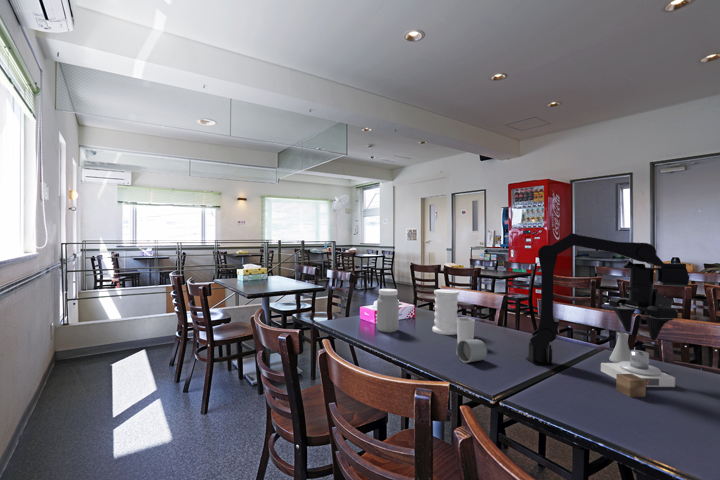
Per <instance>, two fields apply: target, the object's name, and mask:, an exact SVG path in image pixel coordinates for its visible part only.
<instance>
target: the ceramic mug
mask: <svg viewBox="0 0 720 480" xmlns="http://www.w3.org/2000/svg"><path fill="white" fill-rule="evenodd" d="M455 353H456V356H457V357H458V359H459V360H460V361H461V362H462V363H473V362H479V361H483V360H485V359H486V358H487V355H488V348H487V345H486V343H485V342H484V341H482V340H480V339H477V338H476V339H473V340H461V341H459V343H458V342H457V344H456V351H455Z"/></svg>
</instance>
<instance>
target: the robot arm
mask: <svg viewBox="0 0 720 480" xmlns="http://www.w3.org/2000/svg"><path fill="white" fill-rule="evenodd" d="M574 246H575V247H581V248H585V249H592V250H597V251H601V252H606V253H607V252H608V253H613V254H616V255H618V256H622V257H625V258H628V259H631V260H627V261H626V262H625V263H624V264H623V265H622V266H621V268H623V269H625V270H626V269H629V285H628V286H627V285H626V286H625V290H627V291H629V292H628V293H629V294H628V297H629V298H628V297H611V298H610V299H609V303H608V306H609V307H612V310H613V311H614V313H615V314H616V317H618V319H619V321H620V322H621V324H622V327H623V328H624V330H625V333H630V332H631V328H632V321H633V314H634V313H635V312H636V311H637V310H638V311H643V312H645V313H646V314H647V316H645V319H646V324H647V328H648V334H649V337H650V340H652V341H656V340H657V338H658V336H659V334H660V332H661V331H662V328H663V327H664V325H666V323H668V322H670V321H672V322H673V321H674V319H679V313H678V312H679V311H678V310H677V309H676V308H675V307H672V306H673V303H674V298H673V299H672V298H670V297H667V296H665V295H662V294H659V290H658V288H656V287H655V288H654V283H655V281H656V283H659V285H660V286H664V287H665V286H666V287H681V288H687V287H688V285H689V282H690V275H689V271H688V269H687V264H686V263H685V262H684V263H683V262H677V263H670V262H669V263H667V262H663V260H662V259H661V258H660V257H659V256H658V255H657V250H656V248H655V246H654V245H653V244H651V243H648V242H631V241H630V242H628V241H625V242H624V241H614V240H608V239H604V238H599V237H597V238H596V237H592V236H587V235H585V236H584V235H580V234H576V233H574V232H573V233H569V234H567V235H566V236H565V237H563V238H562V239H559V240H558V241H556V242H555V243H552V244H551V245H550V244H545V245H543V246H541V247H539V249H538V251H537V257H538V263H539V267H540V272H541V286H540V287H541V288H540V289H541V290H540V291H541V294H540V295H541V296H540V297H541V298H540V301H541V303H540V317H539V321H538V324H537V325H538V326H537V329H536V330H534V331H533V332H532V333H531V334H530V337H529V341H528V351H527V352H528V356H526V357H525V360H528V362H531V363H532V364H534V365H536V366H538V365H539V366H541V365H542V366H548V365H549V366H553V365H555V363H554V362H553V353H554V351H553V348H552V344H550V343H552V342H554V341H555V340H556V339H557V336H558V335H560V330H559V324H560V318H555V315H554V272H555V268H556V263H557V259H558V255H560V254H561V253H564V252H565V251H566V250H569V249H571V248H572V247H574ZM632 260H634V261H636V262H642V263H635V262H632ZM645 263H646V264H648V265H650V266H655V267H649V266H647V267H646V264H645Z"/></svg>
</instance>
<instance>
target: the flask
mask: <svg viewBox="0 0 720 480" xmlns="http://www.w3.org/2000/svg"><path fill="white" fill-rule="evenodd" d="M616 334H617V341H616V343H615V347H614V349H613V350H612V353H611V354H610V356H609V358H608V359H609V361H610V362H611V363H619V362H622V361H630V351H631V349H630V346H629V341H628V337H629V334H628V333H627V332H621V331H620V332H616Z"/></svg>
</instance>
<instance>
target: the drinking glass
mask: <svg viewBox="0 0 720 480" xmlns="http://www.w3.org/2000/svg"><path fill="white" fill-rule="evenodd" d="M475 321H476V319H474V318H471V317H465V316H463V317H461V316H460V317H457V334H456V335H457V344H458V343H459V341H461V340H473V339H474V338H475V335H474V334H475V323H476V322H475Z"/></svg>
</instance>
